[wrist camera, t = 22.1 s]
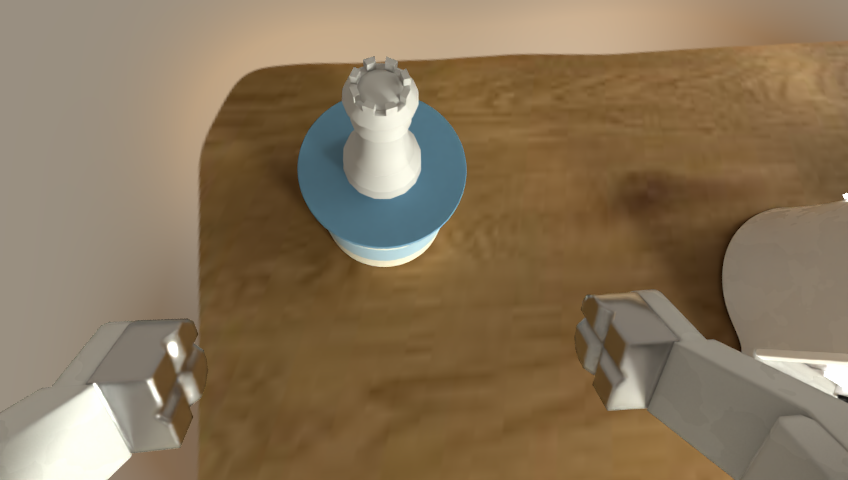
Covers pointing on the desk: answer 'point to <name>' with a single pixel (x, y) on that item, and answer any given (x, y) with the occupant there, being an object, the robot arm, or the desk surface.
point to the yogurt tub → (382, 218)
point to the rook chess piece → (381, 130)
